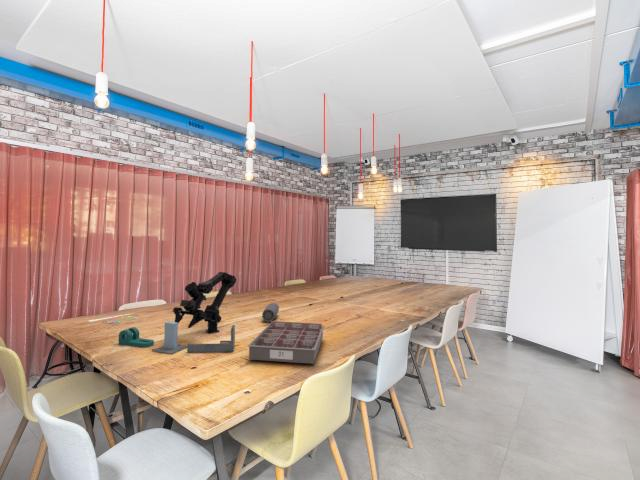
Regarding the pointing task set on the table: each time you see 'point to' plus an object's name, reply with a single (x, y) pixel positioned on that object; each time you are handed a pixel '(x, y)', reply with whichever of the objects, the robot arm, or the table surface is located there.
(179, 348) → the rubber mat
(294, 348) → the organizer tray
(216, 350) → the board rack
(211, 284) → the robot arm
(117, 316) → the printed paper
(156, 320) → the table surface
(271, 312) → the bluetooth speaker
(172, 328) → the pale blue-grey block
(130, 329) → the bracket
